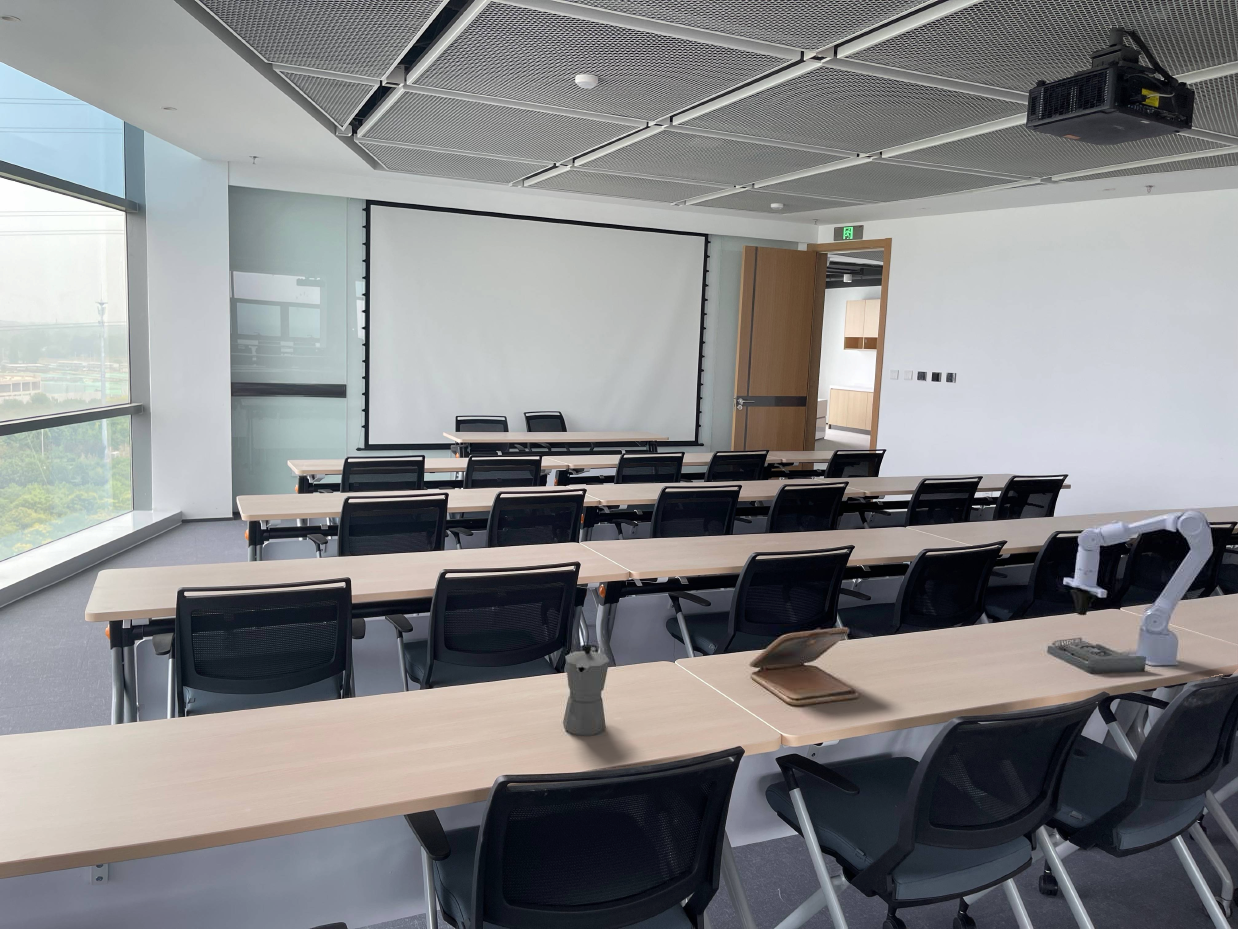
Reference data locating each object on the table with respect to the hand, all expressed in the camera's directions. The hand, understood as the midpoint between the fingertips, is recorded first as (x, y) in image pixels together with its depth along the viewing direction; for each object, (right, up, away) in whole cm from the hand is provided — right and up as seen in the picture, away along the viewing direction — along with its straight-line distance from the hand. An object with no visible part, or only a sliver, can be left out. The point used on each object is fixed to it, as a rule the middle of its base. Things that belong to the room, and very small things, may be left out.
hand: (1081, 614), depth 244 cm
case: (-92, -11, -41) cm, 101 cm away
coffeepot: (-144, -11, -68) cm, 159 cm away
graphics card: (-3, -11, -10) cm, 15 cm away
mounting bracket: (-3, -11, -14) cm, 18 cm away
